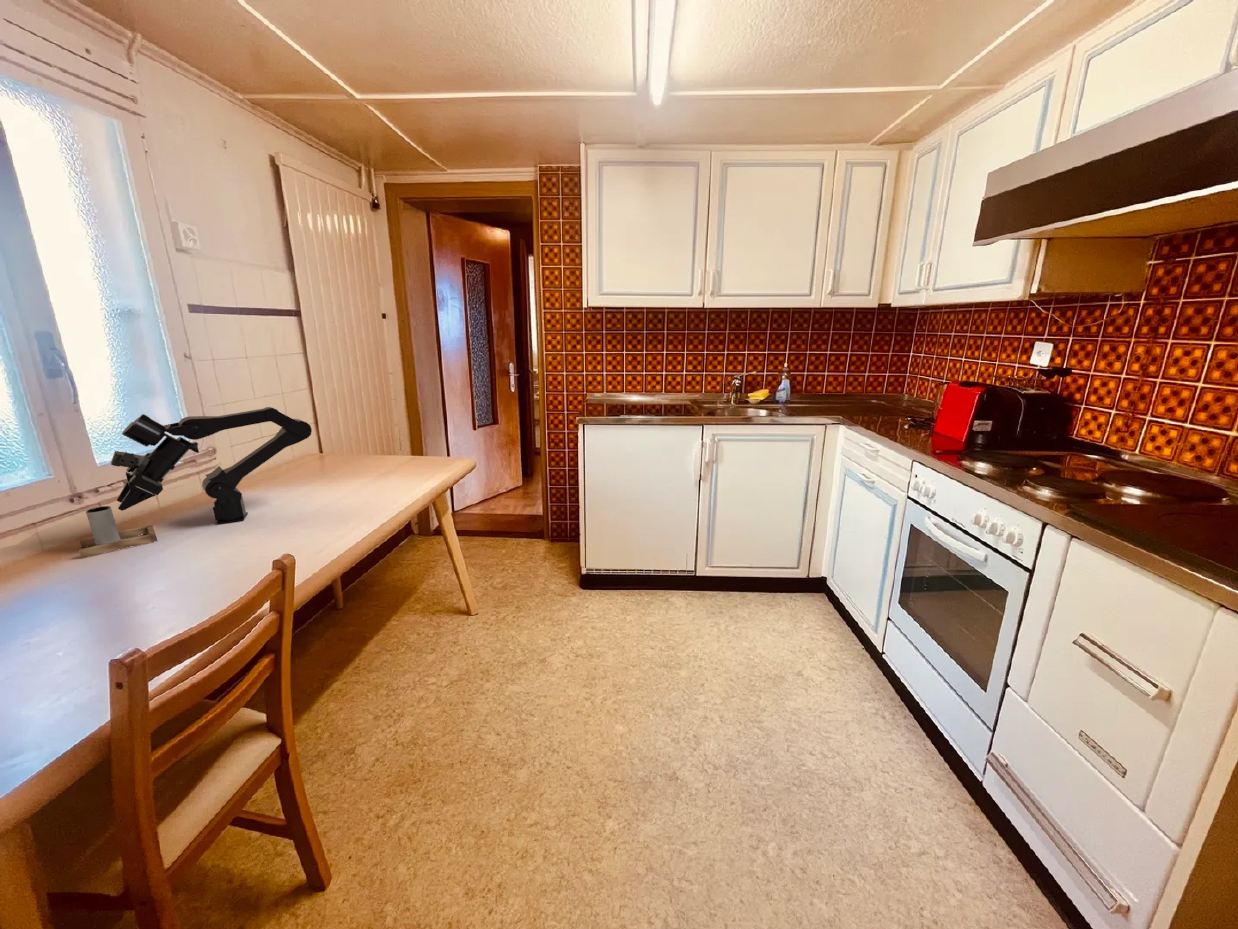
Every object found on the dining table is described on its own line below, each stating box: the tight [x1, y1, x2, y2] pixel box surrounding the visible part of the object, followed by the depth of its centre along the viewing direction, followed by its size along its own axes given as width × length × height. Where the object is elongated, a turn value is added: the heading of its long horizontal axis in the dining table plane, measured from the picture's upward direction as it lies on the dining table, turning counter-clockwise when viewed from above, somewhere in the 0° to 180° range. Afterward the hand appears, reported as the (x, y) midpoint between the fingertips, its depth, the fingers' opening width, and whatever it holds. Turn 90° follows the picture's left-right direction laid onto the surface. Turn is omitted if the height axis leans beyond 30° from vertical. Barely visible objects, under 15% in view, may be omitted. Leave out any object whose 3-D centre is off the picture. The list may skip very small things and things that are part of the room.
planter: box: [85, 505, 121, 546], centre depth 128 cm, size 4×4×10 cm
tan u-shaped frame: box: [78, 524, 158, 559], centre depth 131 cm, size 14×10×2 cm
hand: (119, 505), depth 130 cm, fingers open, 9 cm apart
